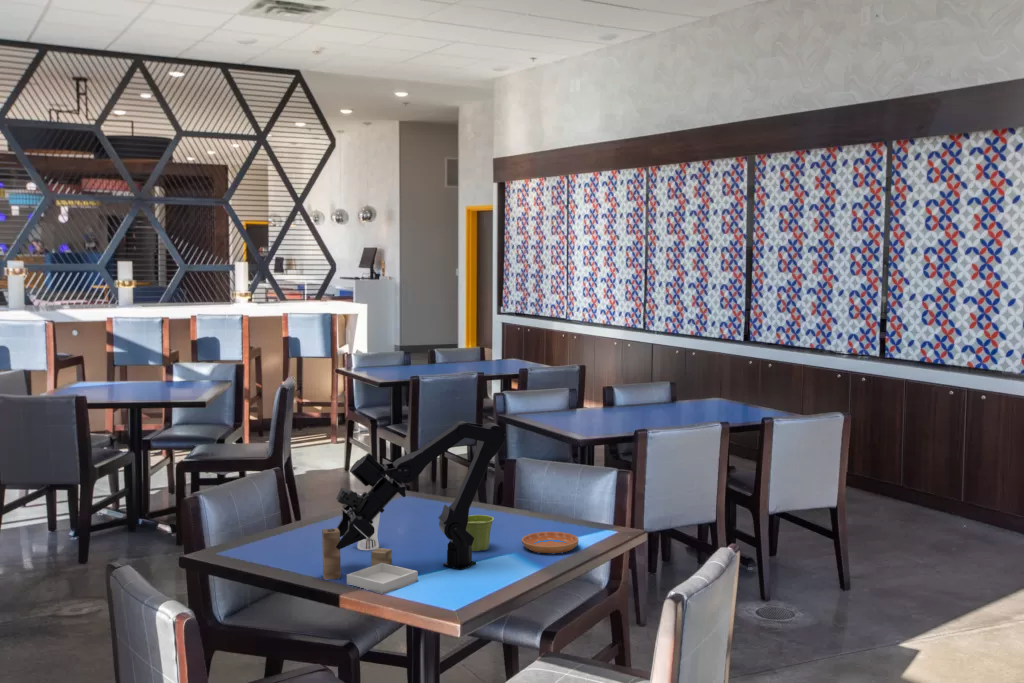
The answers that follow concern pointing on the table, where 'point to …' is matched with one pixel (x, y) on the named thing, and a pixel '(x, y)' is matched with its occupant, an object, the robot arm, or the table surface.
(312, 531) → the table surface
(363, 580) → the bus tray
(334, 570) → the walnut post
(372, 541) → the beer glass
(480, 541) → the plant pot
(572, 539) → the saucer
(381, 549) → the short block
